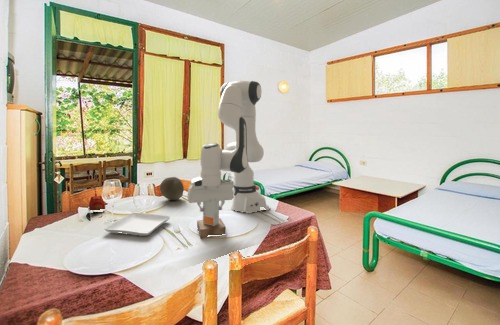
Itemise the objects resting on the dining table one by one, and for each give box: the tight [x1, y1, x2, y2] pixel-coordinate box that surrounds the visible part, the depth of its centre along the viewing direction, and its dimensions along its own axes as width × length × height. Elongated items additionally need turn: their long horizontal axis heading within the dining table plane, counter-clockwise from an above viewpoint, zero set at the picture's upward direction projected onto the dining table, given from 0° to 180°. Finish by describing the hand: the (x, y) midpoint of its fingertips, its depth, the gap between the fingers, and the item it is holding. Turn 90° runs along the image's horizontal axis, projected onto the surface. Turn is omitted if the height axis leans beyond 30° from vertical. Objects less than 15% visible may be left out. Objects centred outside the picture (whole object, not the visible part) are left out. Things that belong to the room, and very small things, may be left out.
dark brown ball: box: [159, 176, 185, 201], centre depth 164 cm, size 14×14×15 cm
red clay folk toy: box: [88, 184, 106, 211], centre depth 140 cm, size 8×7×15 cm
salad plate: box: [103, 212, 171, 237], centre depth 120 cm, size 21×21×3 cm
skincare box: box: [202, 199, 220, 226], centre depth 115 cm, size 6×4×12 cm
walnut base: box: [196, 217, 227, 239], centre depth 117 cm, size 11×11×4 cm
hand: (210, 210), depth 115 cm, fingers closed on skincare box, 7 cm apart
